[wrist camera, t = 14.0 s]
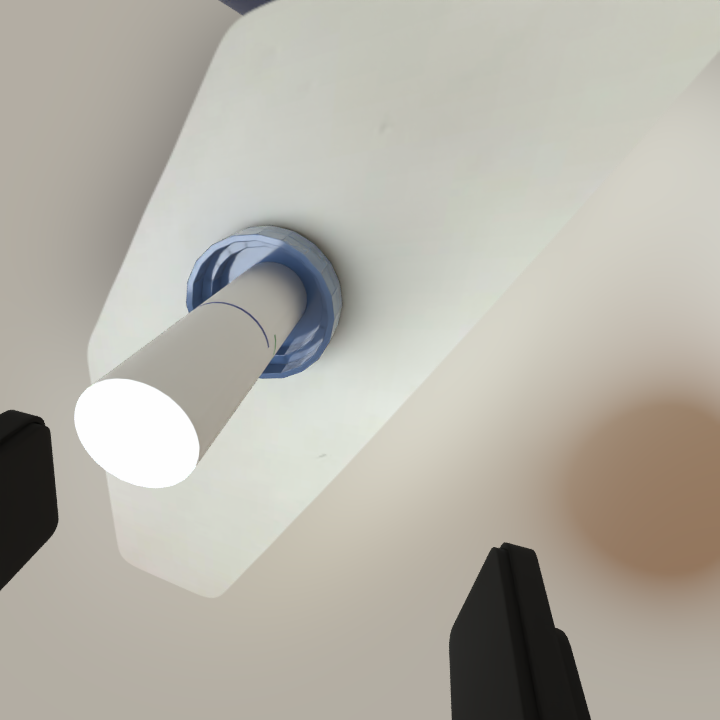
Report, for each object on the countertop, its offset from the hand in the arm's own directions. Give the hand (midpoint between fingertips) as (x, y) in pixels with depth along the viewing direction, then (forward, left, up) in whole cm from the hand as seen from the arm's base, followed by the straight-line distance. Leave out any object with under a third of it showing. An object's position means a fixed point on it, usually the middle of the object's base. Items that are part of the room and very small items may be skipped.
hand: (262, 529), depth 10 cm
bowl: (+10, -10, -38) cm, 41 cm away
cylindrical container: (+10, -10, -38) cm, 40 cm away
